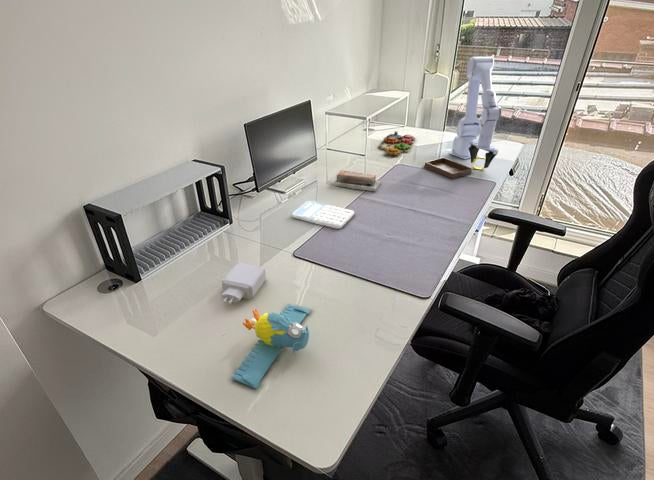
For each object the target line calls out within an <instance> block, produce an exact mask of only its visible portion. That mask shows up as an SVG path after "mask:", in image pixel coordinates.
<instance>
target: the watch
mask: <svg viewBox="0 0 654 480" xmlns="http://www.w3.org/2000/svg"><path fill="white" fill-rule="evenodd" d="M477 160H484V161H485V155H477V157H476V158H475V159H474V161H473V163H472V167H473V168H474V170H480V171H481V170H484V169H485V168H484V166H482V167H478V166H477V167H476V166H475V163H476V161H477Z"/></svg>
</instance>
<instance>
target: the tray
mask: <svg viewBox="0 0 654 480" xmlns="http://www.w3.org/2000/svg"><path fill="white" fill-rule="evenodd" d="M424 168H426V169H428V170H431V171H433V172H435V173H437V174H440V175H442V176H444V177H446V178H450V179H451V180H454V179H457V178H460V177H463V176H468V175H471V174H472V170H473V168H472V167H469V166H467V165H464V164H462V163H460V162H458V161H454V160H452V159H449V158H447V157H445V156H444V157H443V156H442V157H438V158H436V159H431V160H428V161H425V162H424Z"/></svg>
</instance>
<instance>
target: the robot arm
mask: <svg viewBox="0 0 654 480" xmlns="http://www.w3.org/2000/svg"><path fill="white" fill-rule="evenodd" d="M466 65H467V66H466V77H467V79H468V84H467V94H466V95H467V96H466V104H465V115H464V116H463V117H462V118H461V119H460V120H458V124H457V127H456V136H455V137H454V139H453V142H452V146H451V152H449V154H450V155H452V156H455V157H458V158H460V159H463V160H466V159H467V160H468V159H470V164H473V161H474V159H475V158H477V157H478V154H479V150H483V151H485V155H484V157H485V160H484V164H483V167H484V169H487V168H489V167H490V164H491V162H492V161H493V159H494V158H495V157H496V156H497V155H498V154H499V151H500V149H499V148H496V147H495V146H493V145H492V142H493V138H494V133H495V129H496V127H497V126H496V125H497V122H498V121H499V120H500V119H501V117H502V108H501V106H500V105H499V103H498V102H497V101H498V100H497V94H496V91H495V90H494V89H493V83H492V72H493V70H494V66H495V58H494V57H493V56H471V57H470V58H469V60H468V62H467V64H466ZM480 85H481V88H482V93H481V95H480ZM479 95H480V98H481V106H482V111H481V113H480V114H481V115H480V117H481V118H479V117H477V113H478V112H477V111H478V103H479ZM477 137H478V140H477V141H476V139H477Z"/></svg>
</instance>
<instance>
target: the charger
mask: <svg viewBox="0 0 654 480" xmlns="http://www.w3.org/2000/svg"><path fill="white" fill-rule="evenodd" d="M266 274H267V273H266V269H265V268H264V267H262V266H257V265H253V264H252V265H251V264H247V263H242V262H238V263H236V264H235V265H234V266H233V267H232V268H231V270H230V271H229V272H228V273H227V274H226V275H225V277H223V279H222V280H221V286H222V290H223V292H222V294H221V295H220V297H221V298H222V299H223V300H222V303H225V302H226V301H228V304H231V303H232V302H233V303H236V302H240V301H241V299H252V298H254V297H255V296H256V294H257V293H258V291H259V289H260V288H261V287H262V285H263V284H264V283H265V281H266V280H267V275H266Z"/></svg>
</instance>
